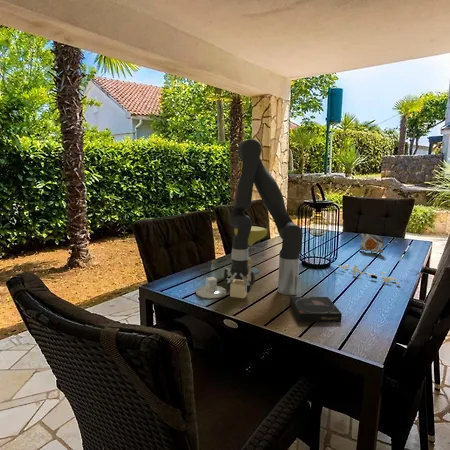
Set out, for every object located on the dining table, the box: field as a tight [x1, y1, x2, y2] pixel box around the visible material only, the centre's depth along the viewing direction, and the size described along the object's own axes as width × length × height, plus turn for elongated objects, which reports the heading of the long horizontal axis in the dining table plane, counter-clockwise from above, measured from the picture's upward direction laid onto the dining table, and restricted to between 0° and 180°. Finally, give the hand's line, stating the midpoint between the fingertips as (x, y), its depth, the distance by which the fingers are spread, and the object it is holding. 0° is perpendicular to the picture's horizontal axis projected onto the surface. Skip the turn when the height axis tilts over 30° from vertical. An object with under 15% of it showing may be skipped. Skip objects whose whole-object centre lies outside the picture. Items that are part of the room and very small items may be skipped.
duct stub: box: [195, 276, 227, 300], centre depth 158 cm, size 14×14×7 cm
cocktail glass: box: [233, 224, 268, 275], centre depth 188 cm, size 18×18×25 cm
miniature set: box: [333, 263, 401, 285], centre depth 186 cm, size 6×35×12 cm
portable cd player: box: [289, 296, 343, 323], centre depth 140 cm, size 16×17×4 cm
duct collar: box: [229, 279, 248, 299], centre depth 156 cm, size 7×7×6 cm
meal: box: [359, 233, 385, 253], centre depth 230 cm, size 15×4×13 cm, turn 53°
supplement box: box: [232, 255, 252, 281], centre depth 173 cm, size 8×5×13 cm, turn 105°
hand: (238, 291), depth 157 cm, fingers open, 8 cm apart
